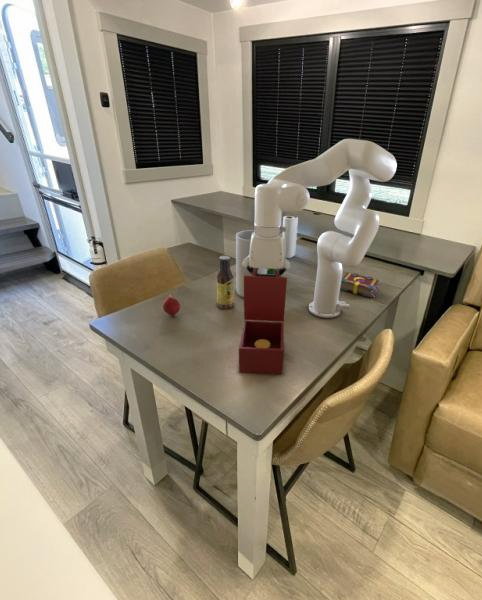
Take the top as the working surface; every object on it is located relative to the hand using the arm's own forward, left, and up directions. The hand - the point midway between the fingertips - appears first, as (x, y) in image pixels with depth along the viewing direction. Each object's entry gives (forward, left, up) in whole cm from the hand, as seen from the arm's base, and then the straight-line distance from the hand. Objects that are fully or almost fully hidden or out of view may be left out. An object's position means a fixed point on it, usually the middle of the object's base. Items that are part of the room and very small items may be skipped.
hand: (265, 286), depth 103 cm
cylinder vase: (+7, -32, -20) cm, 39 cm away
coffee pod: (0, +11, -19) cm, 22 cm away
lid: (0, +4, -3) cm, 5 cm away
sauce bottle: (+16, -20, -20) cm, 33 cm away
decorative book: (-41, -40, -20) cm, 61 cm away
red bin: (0, +11, -20) cm, 22 cm away
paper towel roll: (-9, -75, -20) cm, 78 cm away
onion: (+34, -11, -20) cm, 41 cm away
